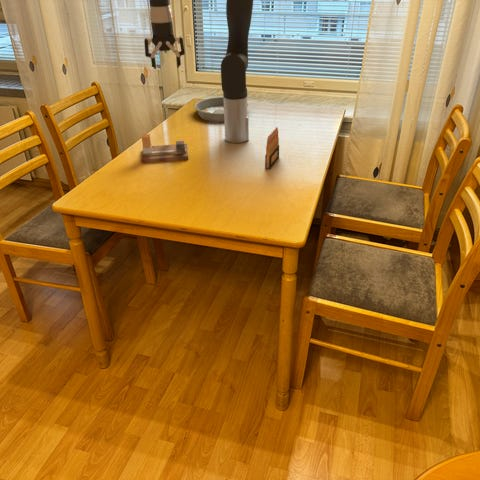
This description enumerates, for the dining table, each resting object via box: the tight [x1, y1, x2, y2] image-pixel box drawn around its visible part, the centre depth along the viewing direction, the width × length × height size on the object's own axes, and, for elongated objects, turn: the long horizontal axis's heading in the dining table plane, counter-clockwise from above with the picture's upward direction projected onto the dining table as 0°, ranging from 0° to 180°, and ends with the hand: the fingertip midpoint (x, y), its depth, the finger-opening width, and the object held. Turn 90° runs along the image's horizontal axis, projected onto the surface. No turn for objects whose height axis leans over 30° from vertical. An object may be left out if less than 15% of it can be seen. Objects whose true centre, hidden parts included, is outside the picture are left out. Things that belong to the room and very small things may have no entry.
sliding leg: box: [141, 133, 153, 154], centre depth 169 cm, size 3×7×7 cm, turn 7°
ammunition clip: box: [264, 127, 280, 170], centre depth 162 cm, size 11×2×12 cm, turn 158°
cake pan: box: [194, 96, 249, 123], centre depth 210 cm, size 25×25×4 cm
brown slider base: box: [141, 140, 189, 164], centre depth 171 cm, size 17×12×6 cm
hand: (166, 67), depth 170 cm, fingers open, 8 cm apart
